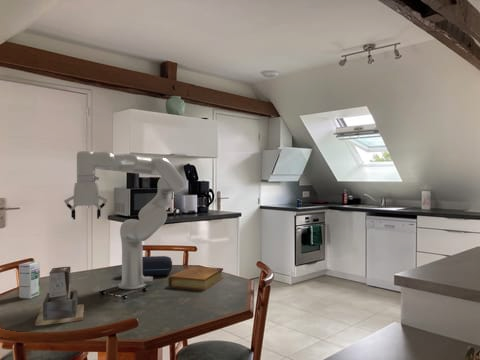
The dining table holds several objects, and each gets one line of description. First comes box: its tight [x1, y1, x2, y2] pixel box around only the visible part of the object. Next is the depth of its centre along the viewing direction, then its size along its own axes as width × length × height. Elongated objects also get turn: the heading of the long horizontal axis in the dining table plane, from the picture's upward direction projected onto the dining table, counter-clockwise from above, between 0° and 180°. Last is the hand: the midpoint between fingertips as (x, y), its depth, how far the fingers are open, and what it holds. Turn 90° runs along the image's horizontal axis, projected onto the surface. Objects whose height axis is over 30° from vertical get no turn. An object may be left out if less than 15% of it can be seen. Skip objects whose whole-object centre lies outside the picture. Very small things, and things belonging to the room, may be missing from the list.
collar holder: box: [34, 289, 85, 327], centre depth 139 cm, size 15×15×7 cm
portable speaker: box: [143, 255, 173, 277], centre depth 200 cm, size 25×10×10 cm, turn 97°
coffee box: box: [48, 266, 71, 302], centre depth 138 cm, size 9×6×16 cm
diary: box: [167, 265, 224, 291], centre depth 185 cm, size 23×19×6 cm
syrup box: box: [18, 261, 41, 299], centre depth 163 cm, size 6×6×14 cm
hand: (86, 218), depth 164 cm, fingers open, 9 cm apart
